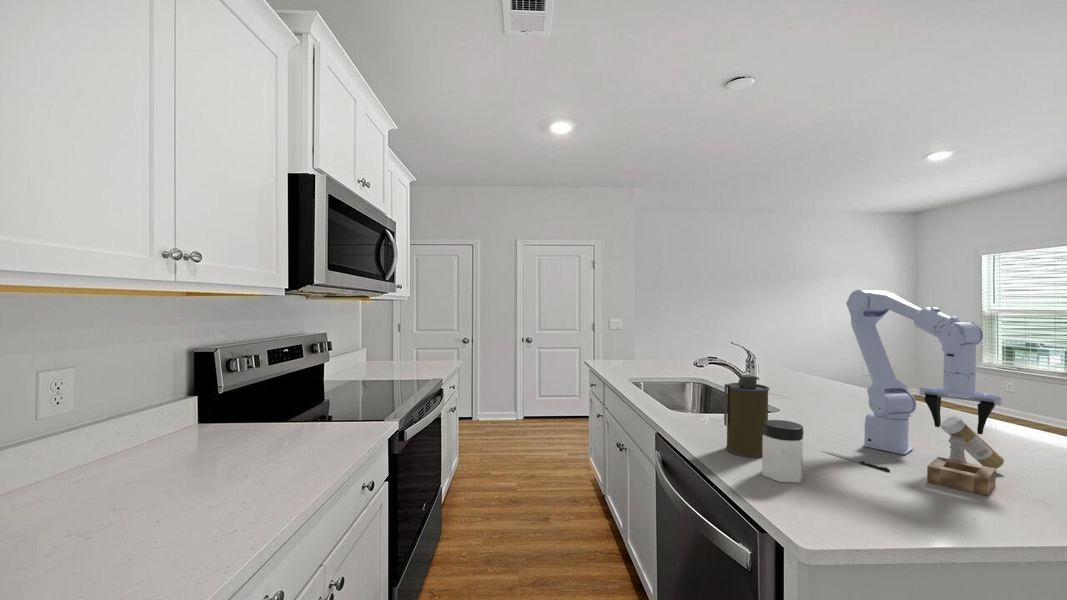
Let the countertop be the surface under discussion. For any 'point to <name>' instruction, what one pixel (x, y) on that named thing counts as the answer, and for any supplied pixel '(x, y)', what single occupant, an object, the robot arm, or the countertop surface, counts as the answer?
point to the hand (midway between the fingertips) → (958, 429)
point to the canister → (745, 416)
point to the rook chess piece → (957, 449)
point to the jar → (782, 451)
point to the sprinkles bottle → (972, 442)
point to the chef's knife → (858, 461)
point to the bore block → (962, 475)
